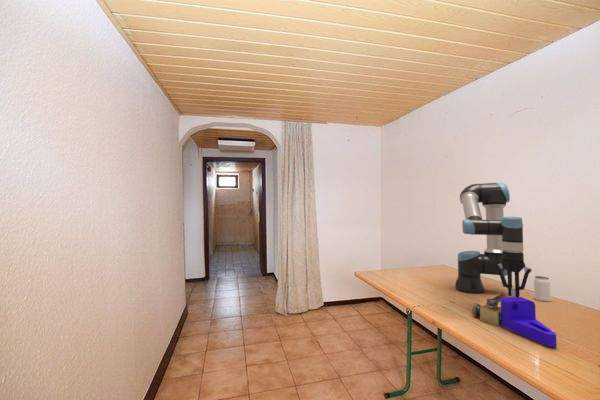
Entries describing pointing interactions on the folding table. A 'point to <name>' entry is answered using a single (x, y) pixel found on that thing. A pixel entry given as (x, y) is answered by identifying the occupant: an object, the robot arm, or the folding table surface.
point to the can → (542, 288)
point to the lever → (495, 300)
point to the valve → (487, 313)
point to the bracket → (525, 320)
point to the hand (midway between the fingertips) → (514, 303)
